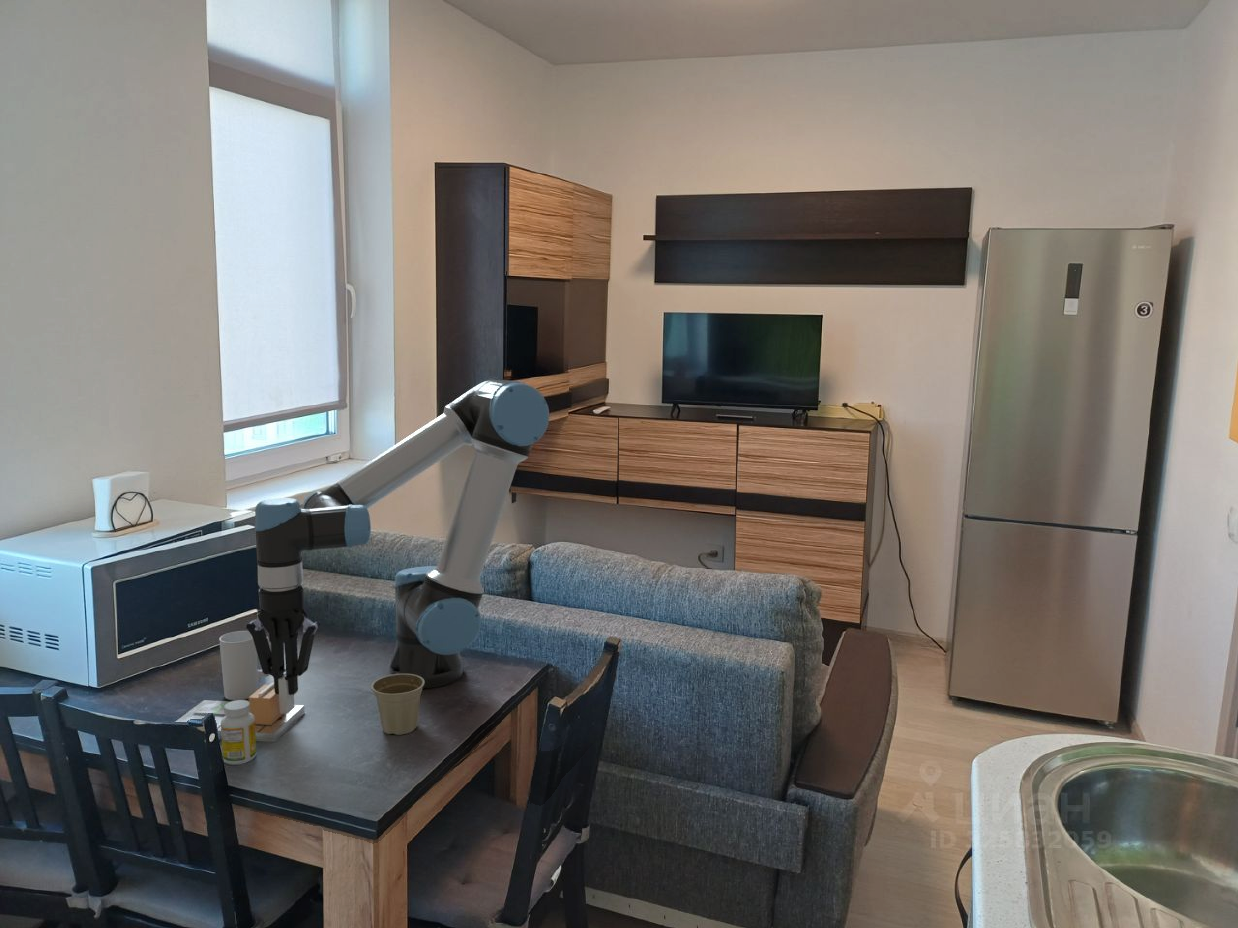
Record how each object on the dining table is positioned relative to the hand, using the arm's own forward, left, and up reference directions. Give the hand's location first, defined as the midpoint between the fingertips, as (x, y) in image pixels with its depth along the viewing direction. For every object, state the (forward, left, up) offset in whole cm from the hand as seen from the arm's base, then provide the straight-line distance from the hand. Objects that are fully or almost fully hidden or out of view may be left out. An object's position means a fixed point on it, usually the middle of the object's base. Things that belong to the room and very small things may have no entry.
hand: (287, 710), depth 166 cm
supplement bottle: (+3, +12, -4) cm, 13 cm away
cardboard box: (+4, 0, -2) cm, 4 cm away
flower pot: (-20, -2, -4) cm, 21 cm away
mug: (+15, -14, -4) cm, 21 cm away
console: (+10, 0, -3) cm, 10 cm away
